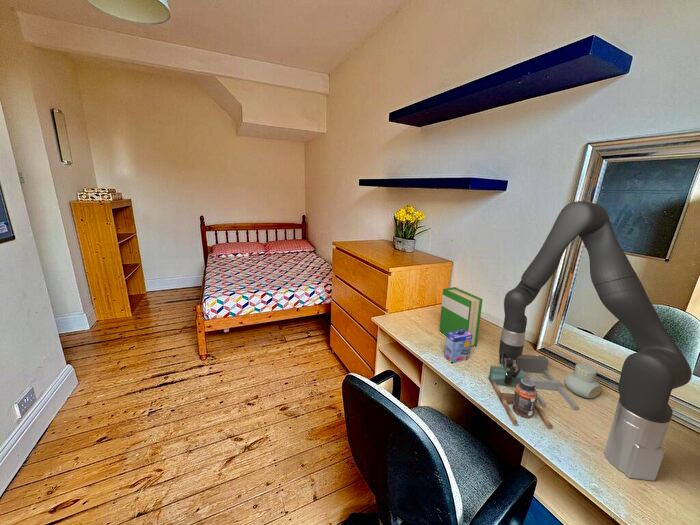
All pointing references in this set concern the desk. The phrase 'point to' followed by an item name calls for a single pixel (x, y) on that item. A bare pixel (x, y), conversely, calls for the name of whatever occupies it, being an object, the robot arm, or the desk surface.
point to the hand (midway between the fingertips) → (505, 380)
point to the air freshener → (583, 381)
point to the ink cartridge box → (458, 345)
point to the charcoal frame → (540, 366)
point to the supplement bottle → (525, 398)
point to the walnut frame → (498, 378)
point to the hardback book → (460, 312)
